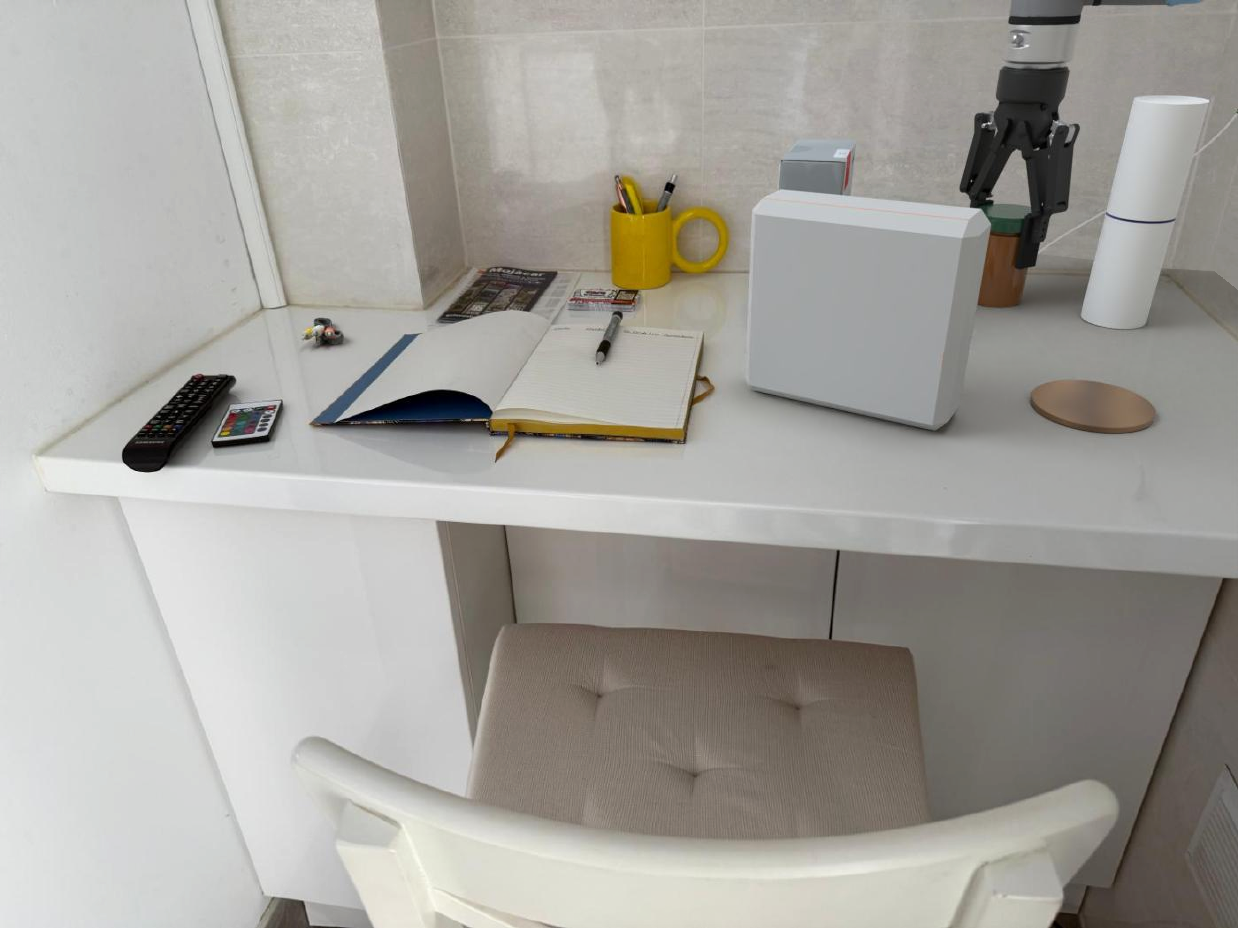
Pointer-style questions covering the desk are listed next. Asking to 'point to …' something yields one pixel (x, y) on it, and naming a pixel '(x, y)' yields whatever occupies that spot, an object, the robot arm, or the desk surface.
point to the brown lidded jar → (1002, 272)
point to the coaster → (1093, 406)
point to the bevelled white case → (864, 303)
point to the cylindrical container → (1142, 208)
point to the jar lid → (1006, 217)
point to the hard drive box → (818, 166)
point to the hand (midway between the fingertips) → (999, 258)
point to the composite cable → (323, 332)
